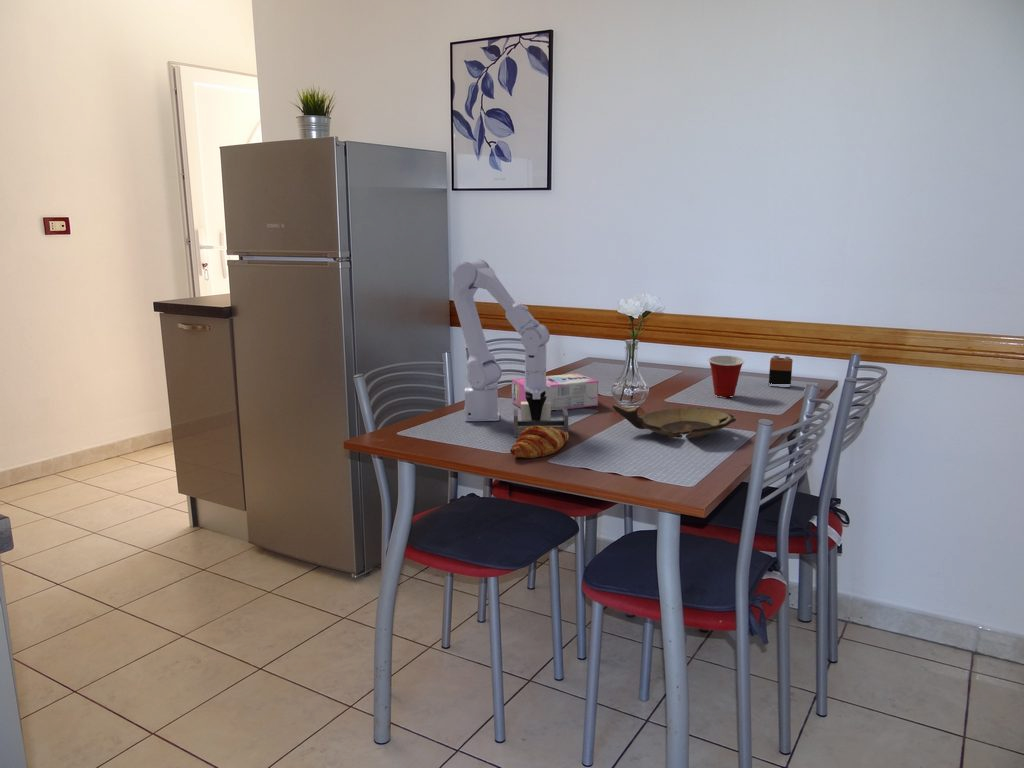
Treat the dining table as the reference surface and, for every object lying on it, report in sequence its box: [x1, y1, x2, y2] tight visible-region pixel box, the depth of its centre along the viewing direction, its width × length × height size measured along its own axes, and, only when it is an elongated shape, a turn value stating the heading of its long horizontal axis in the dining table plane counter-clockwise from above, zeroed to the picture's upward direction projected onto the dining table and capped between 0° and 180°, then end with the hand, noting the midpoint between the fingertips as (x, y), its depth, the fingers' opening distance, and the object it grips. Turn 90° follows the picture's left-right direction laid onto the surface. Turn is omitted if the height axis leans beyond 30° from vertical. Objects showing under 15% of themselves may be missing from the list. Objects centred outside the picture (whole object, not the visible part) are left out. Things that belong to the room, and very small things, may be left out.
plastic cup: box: [708, 355, 745, 397], centre depth 244 cm, size 11×11×12 cm
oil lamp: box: [612, 404, 737, 439], centre depth 204 cm, size 22×30×8 cm
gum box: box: [511, 372, 599, 411], centre depth 235 cm, size 24×8×14 cm
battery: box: [768, 355, 793, 385], centre depth 257 cm, size 4×7×10 cm, turn 68°
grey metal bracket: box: [513, 408, 569, 438], centre depth 205 cm, size 14×7×6 cm, turn 90°
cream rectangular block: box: [520, 401, 552, 421], centre depth 214 cm, size 8×3×6 cm, turn 90°
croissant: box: [509, 426, 569, 459], centre depth 190 cm, size 21×10×8 cm, turn 140°
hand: (535, 419), depth 214 cm, fingers closed on cream rectangular block, 3 cm apart
